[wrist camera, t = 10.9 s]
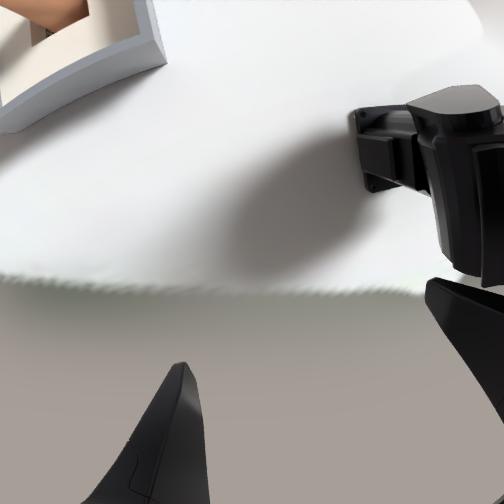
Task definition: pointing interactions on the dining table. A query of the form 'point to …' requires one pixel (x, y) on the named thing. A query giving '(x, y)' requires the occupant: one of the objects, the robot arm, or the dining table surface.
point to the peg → (49, 11)
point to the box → (72, 58)
